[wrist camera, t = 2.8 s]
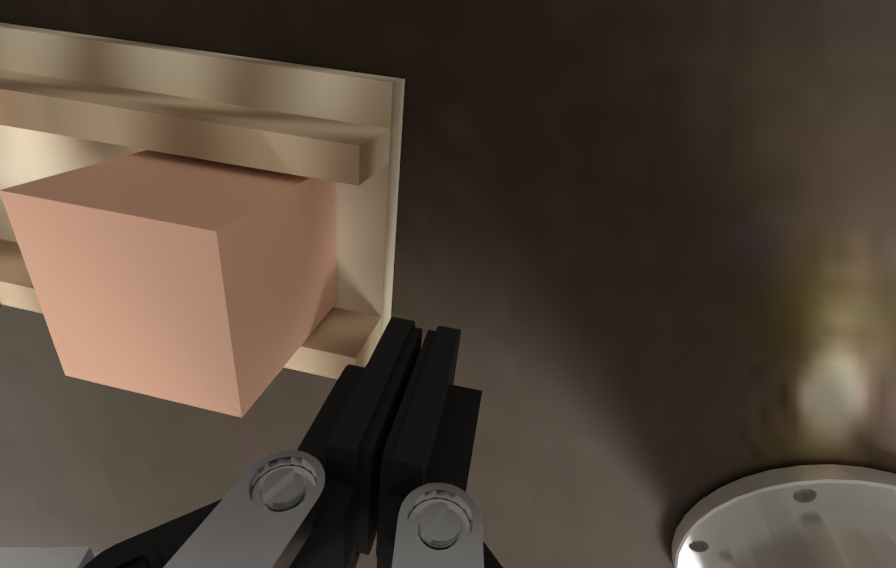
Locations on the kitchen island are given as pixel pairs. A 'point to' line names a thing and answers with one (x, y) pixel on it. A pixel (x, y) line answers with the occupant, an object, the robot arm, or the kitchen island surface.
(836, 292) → the kitchen island surface
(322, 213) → the block
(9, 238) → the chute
